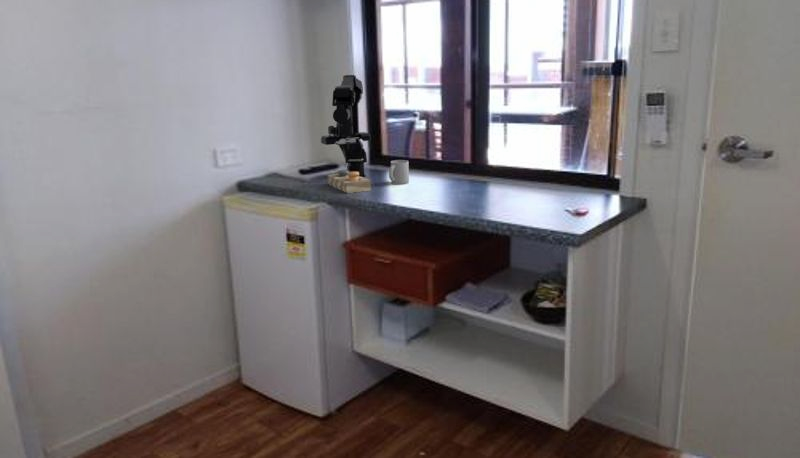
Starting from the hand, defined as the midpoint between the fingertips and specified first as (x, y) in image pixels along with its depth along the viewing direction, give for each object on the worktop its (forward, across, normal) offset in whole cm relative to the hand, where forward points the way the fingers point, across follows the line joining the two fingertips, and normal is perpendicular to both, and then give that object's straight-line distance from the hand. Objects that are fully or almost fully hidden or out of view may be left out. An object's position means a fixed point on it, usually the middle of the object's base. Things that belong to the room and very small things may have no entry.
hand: (346, 160), depth 244 cm
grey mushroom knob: (+11, -1, -6) cm, 13 cm away
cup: (+12, -21, +3) cm, 24 cm away
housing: (+11, -1, -1) cm, 11 cm away
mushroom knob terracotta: (+10, -1, +4) cm, 11 cm away
